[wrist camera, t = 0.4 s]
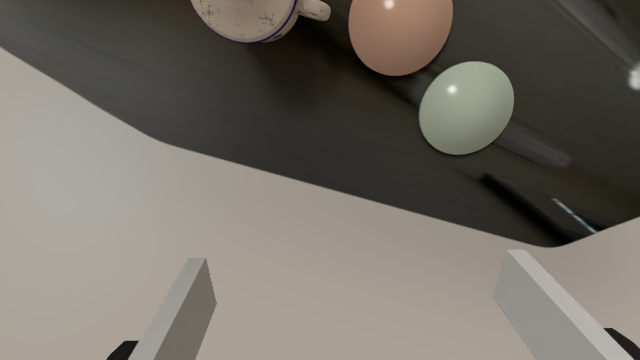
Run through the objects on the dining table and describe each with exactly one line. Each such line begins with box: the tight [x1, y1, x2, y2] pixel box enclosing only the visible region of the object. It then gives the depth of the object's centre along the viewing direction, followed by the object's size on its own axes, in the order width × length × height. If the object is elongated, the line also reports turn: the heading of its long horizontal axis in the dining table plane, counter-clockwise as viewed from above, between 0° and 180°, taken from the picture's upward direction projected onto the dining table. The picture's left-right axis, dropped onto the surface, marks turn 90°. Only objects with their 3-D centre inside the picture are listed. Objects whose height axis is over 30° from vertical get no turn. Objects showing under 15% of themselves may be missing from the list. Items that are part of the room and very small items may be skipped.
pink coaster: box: [348, 0, 453, 76], centre depth 32 cm, size 11×11×1 cm
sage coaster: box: [418, 61, 514, 155], centre depth 36 cm, size 11×11×1 cm
